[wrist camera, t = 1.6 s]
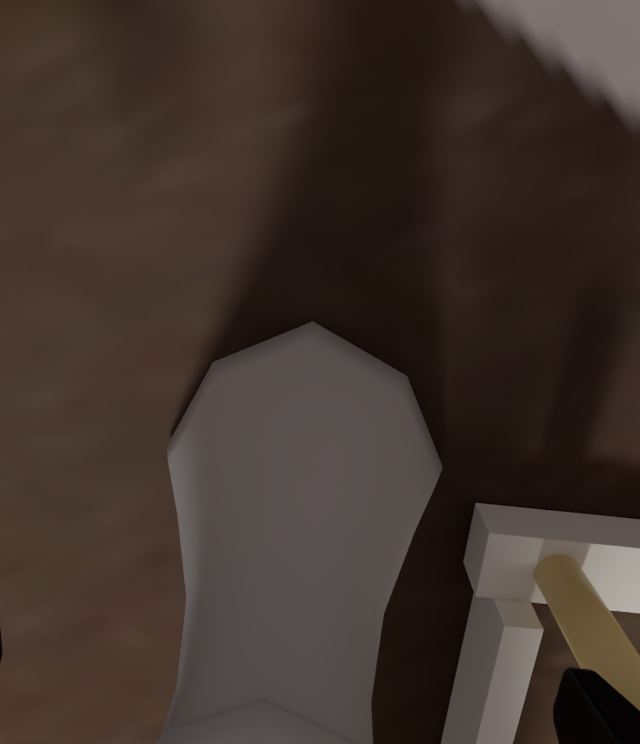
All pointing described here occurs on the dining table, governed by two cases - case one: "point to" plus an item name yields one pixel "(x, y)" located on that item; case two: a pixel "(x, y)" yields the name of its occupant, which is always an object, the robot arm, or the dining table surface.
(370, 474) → the flask
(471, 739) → the wall peg rack
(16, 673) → the dining table surface
